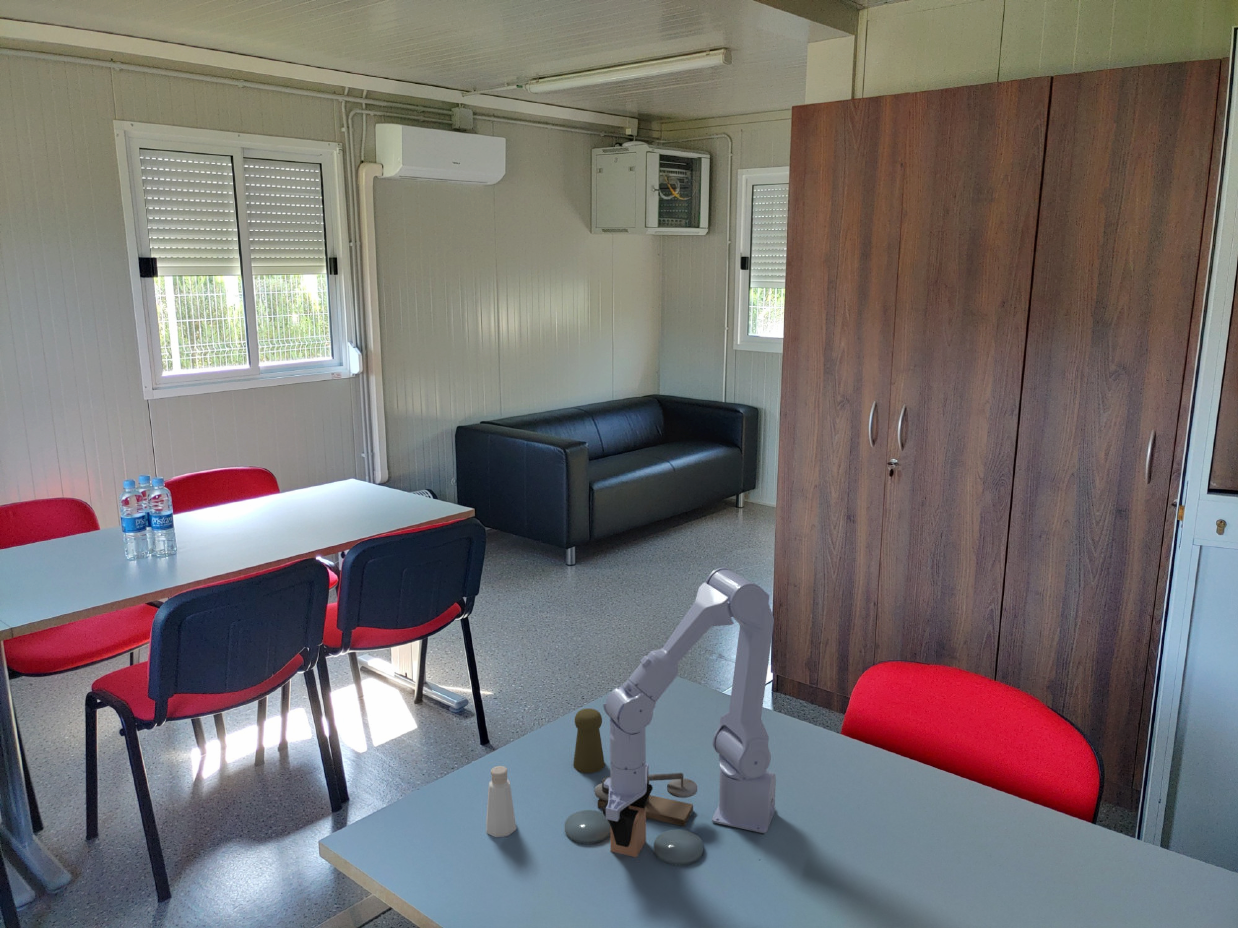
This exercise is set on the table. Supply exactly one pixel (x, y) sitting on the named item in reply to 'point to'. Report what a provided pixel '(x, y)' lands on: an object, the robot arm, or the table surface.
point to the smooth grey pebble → (678, 847)
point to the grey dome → (587, 826)
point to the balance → (662, 799)
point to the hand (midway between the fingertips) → (628, 835)
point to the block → (637, 835)
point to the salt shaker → (500, 804)
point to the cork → (588, 742)
